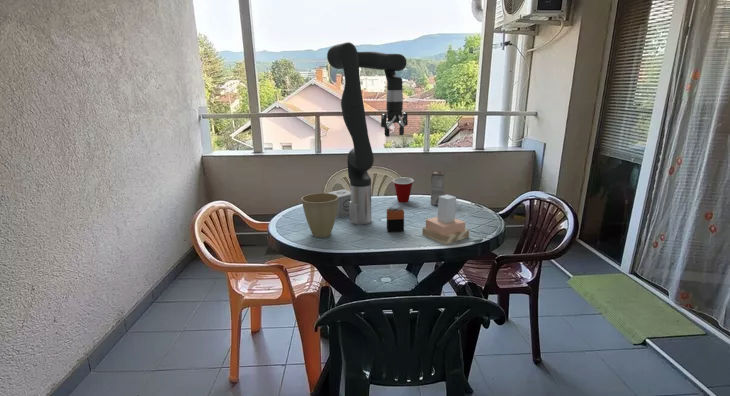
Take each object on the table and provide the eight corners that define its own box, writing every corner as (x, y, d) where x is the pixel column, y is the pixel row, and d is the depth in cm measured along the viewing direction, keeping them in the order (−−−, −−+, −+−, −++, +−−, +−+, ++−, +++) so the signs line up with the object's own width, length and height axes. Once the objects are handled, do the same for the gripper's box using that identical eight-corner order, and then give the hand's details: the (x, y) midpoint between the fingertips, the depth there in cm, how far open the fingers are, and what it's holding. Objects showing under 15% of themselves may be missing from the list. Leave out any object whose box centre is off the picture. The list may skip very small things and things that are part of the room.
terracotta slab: (443, 235, 144) (443, 227, 143) (425, 227, 153) (425, 219, 152) (464, 230, 149) (465, 222, 148) (446, 222, 158) (446, 214, 157)
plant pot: (346, 236, 153) (344, 198, 148) (312, 244, 145) (309, 204, 141) (330, 225, 165) (329, 190, 161) (298, 232, 158) (296, 195, 154)
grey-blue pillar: (446, 223, 147) (447, 199, 144) (437, 220, 150) (438, 196, 148) (454, 221, 149) (456, 197, 147) (445, 218, 153) (447, 194, 150)
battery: (386, 228, 160) (386, 206, 157) (402, 228, 161) (402, 205, 158) (388, 232, 156) (388, 209, 153) (404, 231, 156) (404, 209, 154)
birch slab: (445, 246, 143) (446, 237, 142) (422, 236, 153) (422, 228, 152) (468, 238, 150) (469, 230, 149) (444, 229, 160) (444, 221, 159)
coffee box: (431, 199, 201) (432, 170, 196) (443, 200, 200) (444, 170, 195) (430, 204, 192) (431, 174, 188) (443, 205, 191) (444, 174, 186)
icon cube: (344, 208, 189) (343, 189, 186) (356, 212, 181) (355, 193, 179) (327, 212, 183) (326, 192, 180) (339, 217, 175) (338, 197, 173)
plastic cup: (390, 203, 195) (390, 181, 192) (395, 198, 205) (395, 176, 202) (410, 205, 192) (411, 182, 188) (415, 199, 201) (415, 177, 198)
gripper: (387, 101, 166) (387, 137, 171) (411, 100, 174) (411, 135, 178) (377, 101, 172) (377, 136, 177) (401, 100, 180) (400, 134, 184)
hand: (394, 135), depth 177 cm, fingers open, 8 cm apart
